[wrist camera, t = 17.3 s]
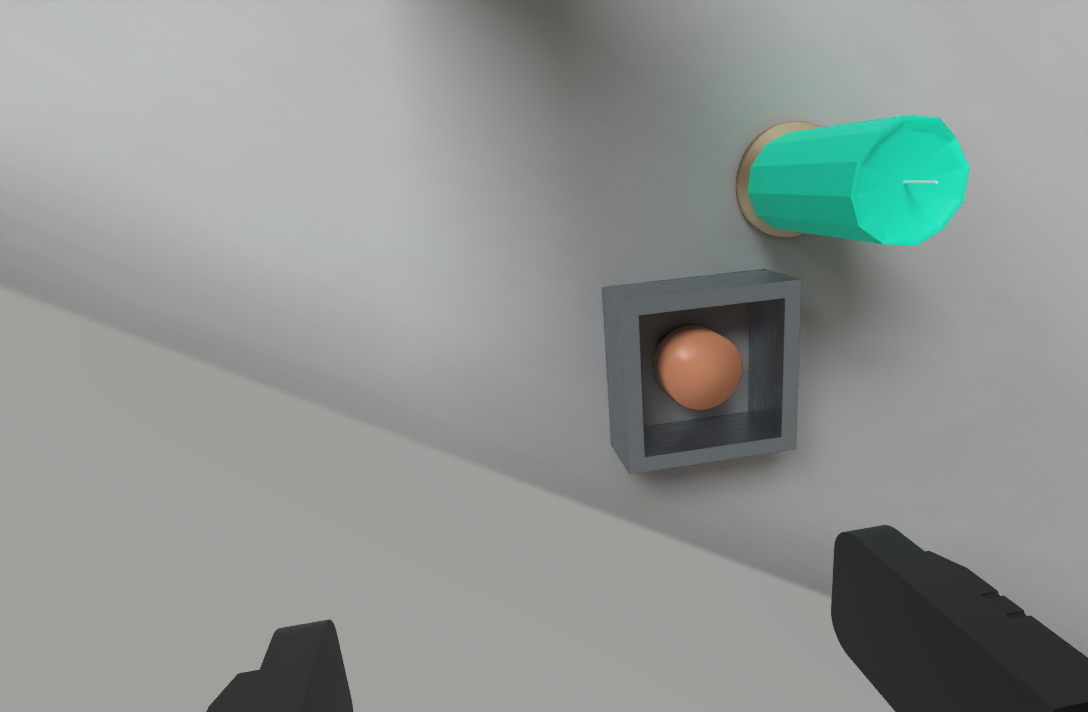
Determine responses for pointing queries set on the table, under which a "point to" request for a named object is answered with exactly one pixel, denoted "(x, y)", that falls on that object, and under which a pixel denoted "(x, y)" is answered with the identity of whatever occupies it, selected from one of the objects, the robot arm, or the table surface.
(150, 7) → the table surface
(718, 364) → the orange egg shape
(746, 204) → the coaster
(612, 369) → the gray open box
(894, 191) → the candle
